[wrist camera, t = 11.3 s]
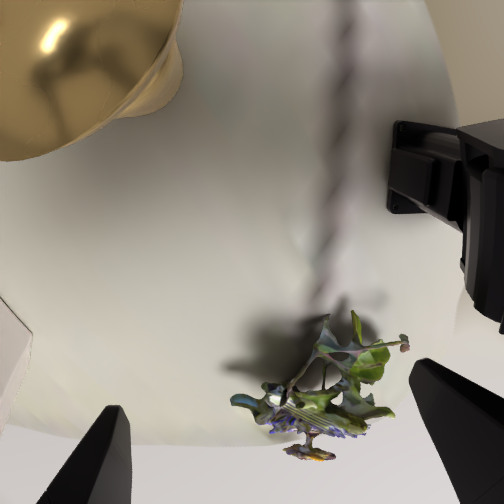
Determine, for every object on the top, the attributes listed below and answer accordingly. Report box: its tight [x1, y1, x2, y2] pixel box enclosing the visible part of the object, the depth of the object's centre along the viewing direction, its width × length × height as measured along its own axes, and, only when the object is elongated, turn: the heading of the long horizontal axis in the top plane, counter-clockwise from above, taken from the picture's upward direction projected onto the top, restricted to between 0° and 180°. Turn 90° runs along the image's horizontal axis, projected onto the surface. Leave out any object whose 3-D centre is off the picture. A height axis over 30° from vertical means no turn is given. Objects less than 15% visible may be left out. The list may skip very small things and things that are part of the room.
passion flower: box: [230, 310, 410, 461], centre depth 22 cm, size 11×11×12 cm
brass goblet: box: [0, 0, 183, 161], centre depth 9 cm, size 6×6×13 cm
